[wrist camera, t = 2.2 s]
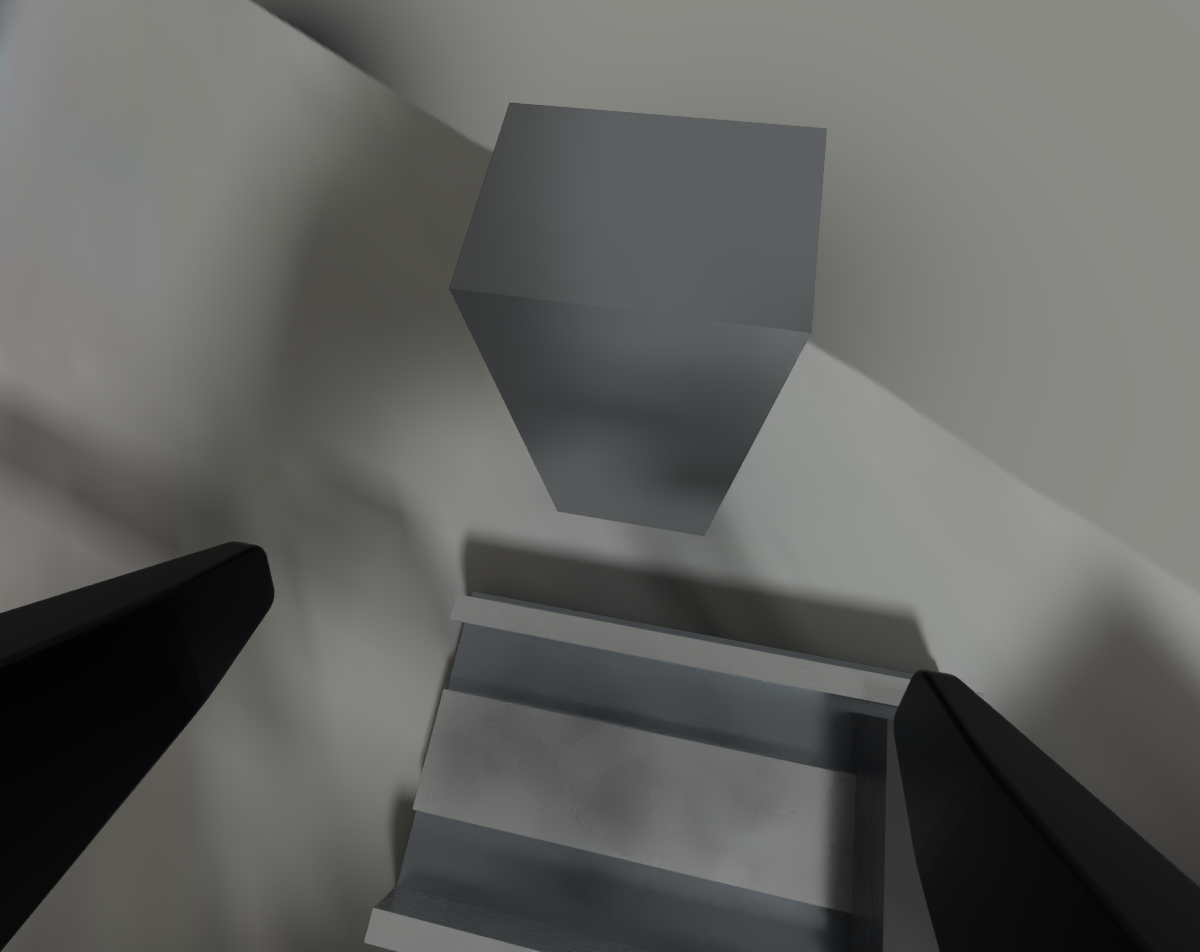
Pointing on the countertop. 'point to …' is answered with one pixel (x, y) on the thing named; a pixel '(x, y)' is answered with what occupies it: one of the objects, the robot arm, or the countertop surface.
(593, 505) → the block
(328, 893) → the countertop surface
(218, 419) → the countertop surface
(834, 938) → the rail plate
